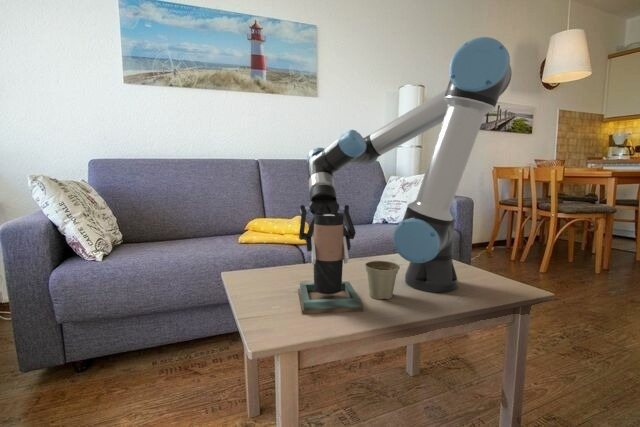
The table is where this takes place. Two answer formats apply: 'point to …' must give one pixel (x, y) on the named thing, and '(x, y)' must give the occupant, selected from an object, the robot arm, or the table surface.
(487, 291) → the table surface
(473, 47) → the robot arm
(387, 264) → the flower pot
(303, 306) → the coaster dock
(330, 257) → the travel mug
